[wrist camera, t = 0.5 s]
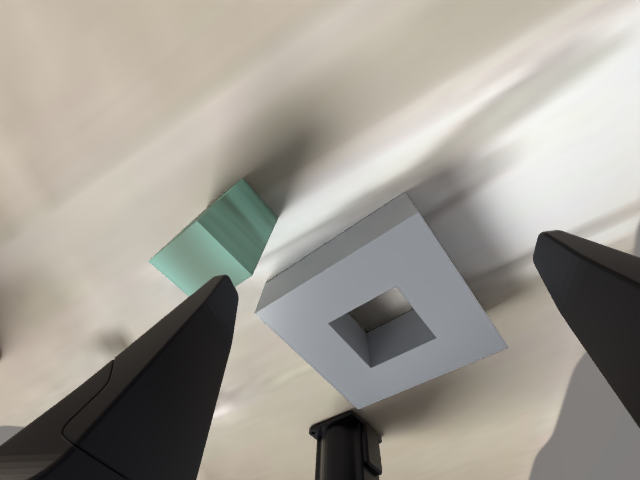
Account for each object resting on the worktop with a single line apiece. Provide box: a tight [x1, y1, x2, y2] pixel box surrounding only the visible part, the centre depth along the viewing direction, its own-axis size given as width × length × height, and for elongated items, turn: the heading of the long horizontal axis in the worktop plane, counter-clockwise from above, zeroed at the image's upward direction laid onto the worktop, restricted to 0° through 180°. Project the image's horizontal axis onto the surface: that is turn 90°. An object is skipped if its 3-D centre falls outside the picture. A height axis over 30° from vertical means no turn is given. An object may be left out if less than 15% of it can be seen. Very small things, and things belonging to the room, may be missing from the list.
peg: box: [148, 178, 278, 296], centre depth 19 cm, size 4×4×8 cm
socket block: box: [254, 192, 509, 410], centre depth 24 cm, size 14×14×4 cm
